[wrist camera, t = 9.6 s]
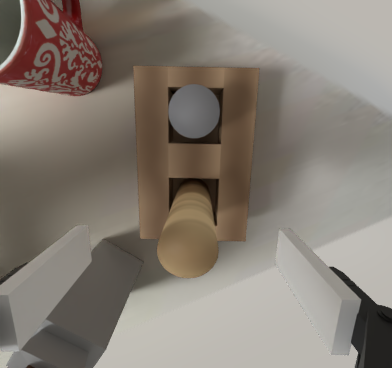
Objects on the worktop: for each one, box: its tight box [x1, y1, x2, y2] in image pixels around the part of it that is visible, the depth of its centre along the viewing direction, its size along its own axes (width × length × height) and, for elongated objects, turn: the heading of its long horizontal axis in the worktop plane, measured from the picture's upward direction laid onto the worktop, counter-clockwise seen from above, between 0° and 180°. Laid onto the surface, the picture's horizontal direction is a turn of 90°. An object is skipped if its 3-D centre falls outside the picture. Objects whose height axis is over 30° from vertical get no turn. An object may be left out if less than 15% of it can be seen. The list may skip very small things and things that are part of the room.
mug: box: [0, 0, 102, 96], centre depth 20 cm, size 13×9×14 cm
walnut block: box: [133, 66, 259, 241], centre depth 26 cm, size 12×18×6 cm, turn 179°
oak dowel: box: [157, 178, 218, 278], centre depth 21 cm, size 4×4×14 cm
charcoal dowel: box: [168, 84, 220, 138], centre depth 21 cm, size 4×4×9 cm
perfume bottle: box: [6, 239, 143, 368], centre depth 24 cm, size 7×7×18 cm
